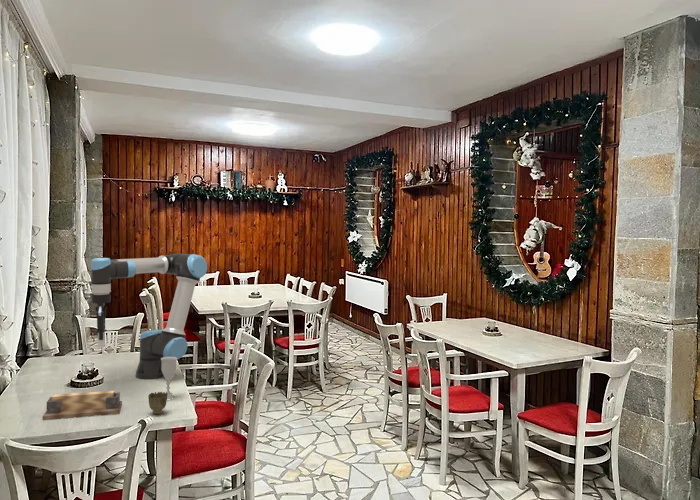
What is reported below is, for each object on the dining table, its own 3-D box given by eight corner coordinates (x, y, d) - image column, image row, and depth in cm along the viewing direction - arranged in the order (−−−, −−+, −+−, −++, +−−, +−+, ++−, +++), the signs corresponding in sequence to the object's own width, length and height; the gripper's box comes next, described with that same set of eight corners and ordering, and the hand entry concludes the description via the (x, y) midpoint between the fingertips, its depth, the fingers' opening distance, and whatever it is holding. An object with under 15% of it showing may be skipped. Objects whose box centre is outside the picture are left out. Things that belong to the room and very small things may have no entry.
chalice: (179, 397, 224) (180, 357, 224) (169, 402, 218) (170, 361, 217) (166, 395, 226) (167, 356, 226) (155, 399, 220) (156, 359, 220)
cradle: (121, 404, 213) (122, 390, 213) (119, 414, 202) (119, 399, 201) (49, 409, 204) (49, 395, 203) (42, 420, 192) (42, 404, 192)
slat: (113, 404, 208) (114, 390, 207) (112, 407, 205) (113, 392, 205) (53, 409, 200) (53, 394, 200) (51, 411, 197) (52, 396, 197)
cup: (151, 410, 207) (151, 391, 207) (169, 410, 208) (169, 391, 208) (145, 416, 200) (145, 396, 200) (164, 416, 200) (164, 397, 200)
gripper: (93, 291, 222) (93, 343, 223) (89, 295, 210) (90, 351, 211) (111, 291, 225) (112, 342, 226) (109, 295, 212) (109, 349, 214)
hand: (101, 346), depth 218 cm, fingers closed
